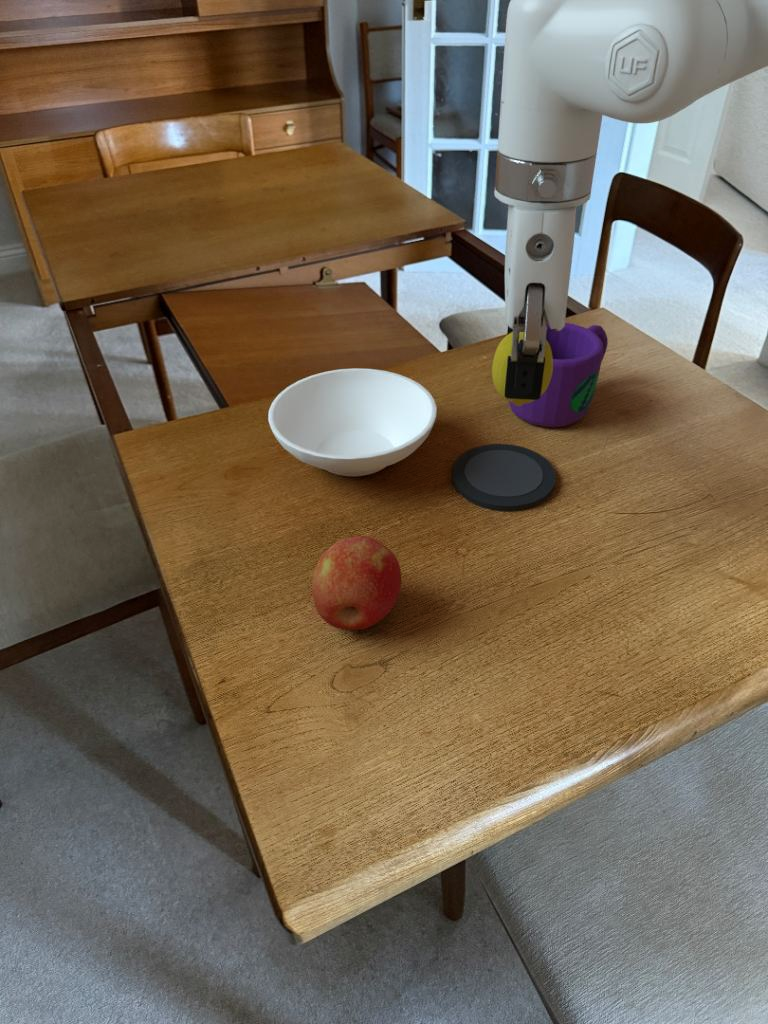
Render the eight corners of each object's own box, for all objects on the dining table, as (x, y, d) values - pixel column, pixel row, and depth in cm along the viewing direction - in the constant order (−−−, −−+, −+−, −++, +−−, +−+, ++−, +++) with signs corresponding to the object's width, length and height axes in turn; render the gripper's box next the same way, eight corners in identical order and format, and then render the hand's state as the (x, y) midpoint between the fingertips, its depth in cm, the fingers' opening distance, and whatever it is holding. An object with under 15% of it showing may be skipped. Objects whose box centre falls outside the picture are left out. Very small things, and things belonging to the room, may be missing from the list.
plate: (562, 458, 89) (563, 452, 89) (546, 520, 80) (547, 513, 80) (464, 442, 92) (465, 436, 92) (439, 500, 84) (440, 493, 83)
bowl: (464, 442, 92) (467, 394, 88) (377, 530, 80) (375, 479, 75) (337, 399, 101) (334, 354, 96) (241, 472, 88) (232, 424, 84)
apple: (411, 594, 72) (411, 533, 67) (380, 658, 66) (378, 596, 61) (336, 574, 75) (331, 514, 70) (300, 634, 69) (291, 573, 64)
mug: (555, 444, 91) (566, 372, 85) (485, 409, 98) (491, 340, 91) (634, 393, 100) (649, 324, 94) (565, 364, 107) (575, 298, 100)
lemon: (503, 425, 69) (510, 346, 63) (480, 395, 73) (486, 319, 68) (557, 415, 70) (569, 336, 65) (532, 386, 74) (541, 311, 69)
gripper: (603, 213, 51) (567, 433, 63) (584, 147, 64) (557, 339, 76) (493, 210, 52) (478, 428, 63) (497, 146, 65) (483, 336, 76)
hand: (521, 378), depth 69 cm, fingers closed on lemon, 5 cm apart
